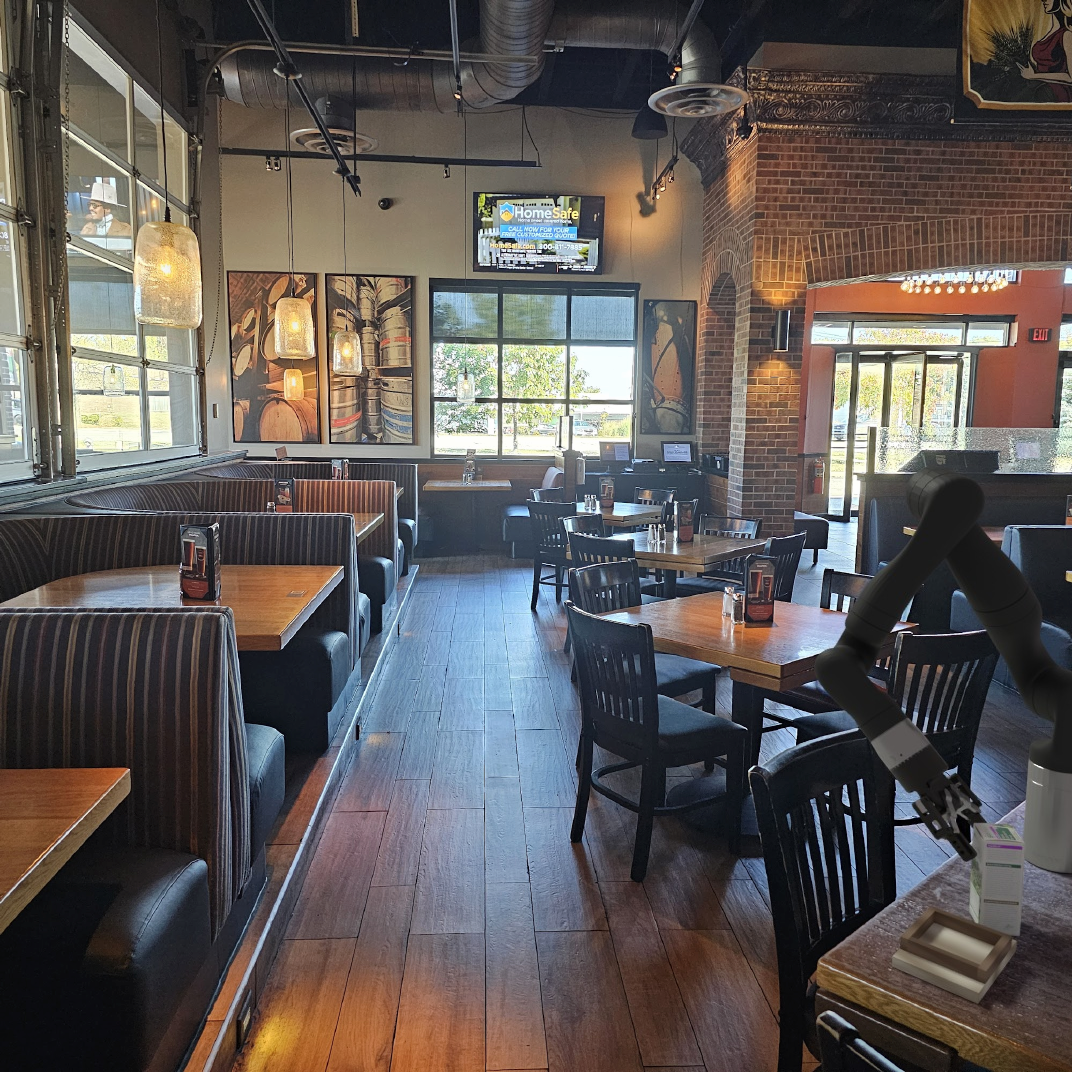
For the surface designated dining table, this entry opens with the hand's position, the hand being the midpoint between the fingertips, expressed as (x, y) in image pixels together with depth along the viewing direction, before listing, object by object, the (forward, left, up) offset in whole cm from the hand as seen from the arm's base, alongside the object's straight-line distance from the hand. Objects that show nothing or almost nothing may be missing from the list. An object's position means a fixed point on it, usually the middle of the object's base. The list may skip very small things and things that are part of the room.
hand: (981, 849), depth 128 cm
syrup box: (0, +2, -11) cm, 11 cm away
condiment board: (+13, +1, -11) cm, 17 cm away
